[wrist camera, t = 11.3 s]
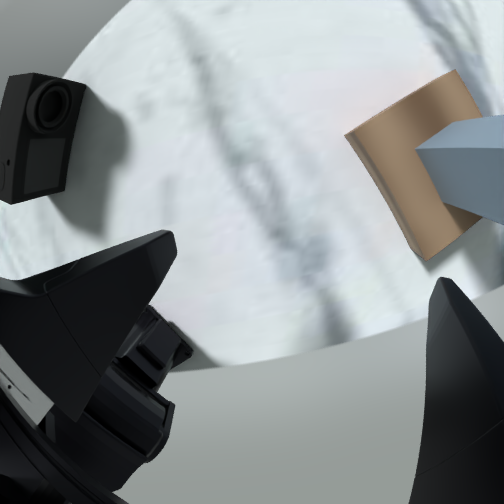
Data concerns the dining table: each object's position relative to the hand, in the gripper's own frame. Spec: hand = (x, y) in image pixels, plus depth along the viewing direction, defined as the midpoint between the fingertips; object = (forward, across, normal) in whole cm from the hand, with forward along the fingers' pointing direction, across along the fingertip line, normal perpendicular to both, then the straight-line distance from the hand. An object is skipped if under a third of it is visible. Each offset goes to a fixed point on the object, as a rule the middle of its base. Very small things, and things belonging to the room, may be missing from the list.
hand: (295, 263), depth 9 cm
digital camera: (+8, +23, -4) cm, 25 cm away
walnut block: (+15, -7, 0) cm, 17 cm away
